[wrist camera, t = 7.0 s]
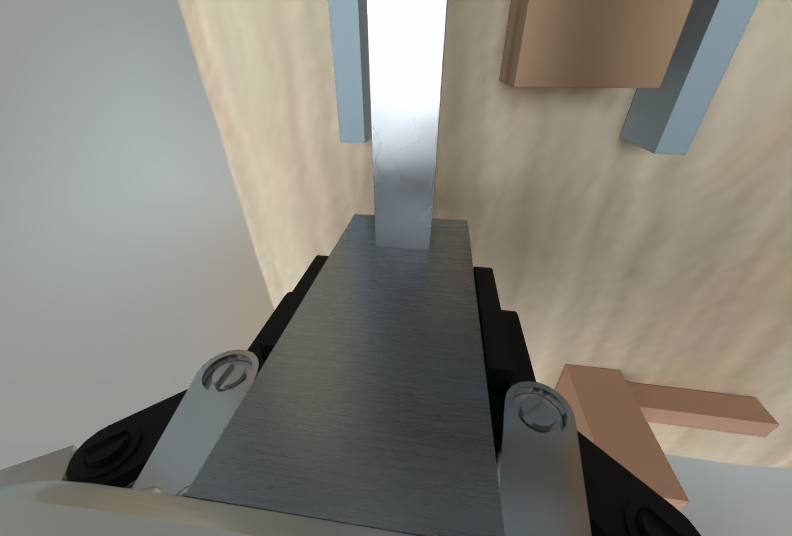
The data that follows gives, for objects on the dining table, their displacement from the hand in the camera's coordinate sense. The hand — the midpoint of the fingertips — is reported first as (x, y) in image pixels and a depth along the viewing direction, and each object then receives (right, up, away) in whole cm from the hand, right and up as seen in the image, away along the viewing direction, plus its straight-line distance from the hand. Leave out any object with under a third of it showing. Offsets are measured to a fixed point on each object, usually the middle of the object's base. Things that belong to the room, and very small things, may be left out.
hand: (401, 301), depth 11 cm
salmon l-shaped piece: (+20, -9, +15) cm, 27 cm away
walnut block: (+8, +12, +4) cm, 15 cm away
